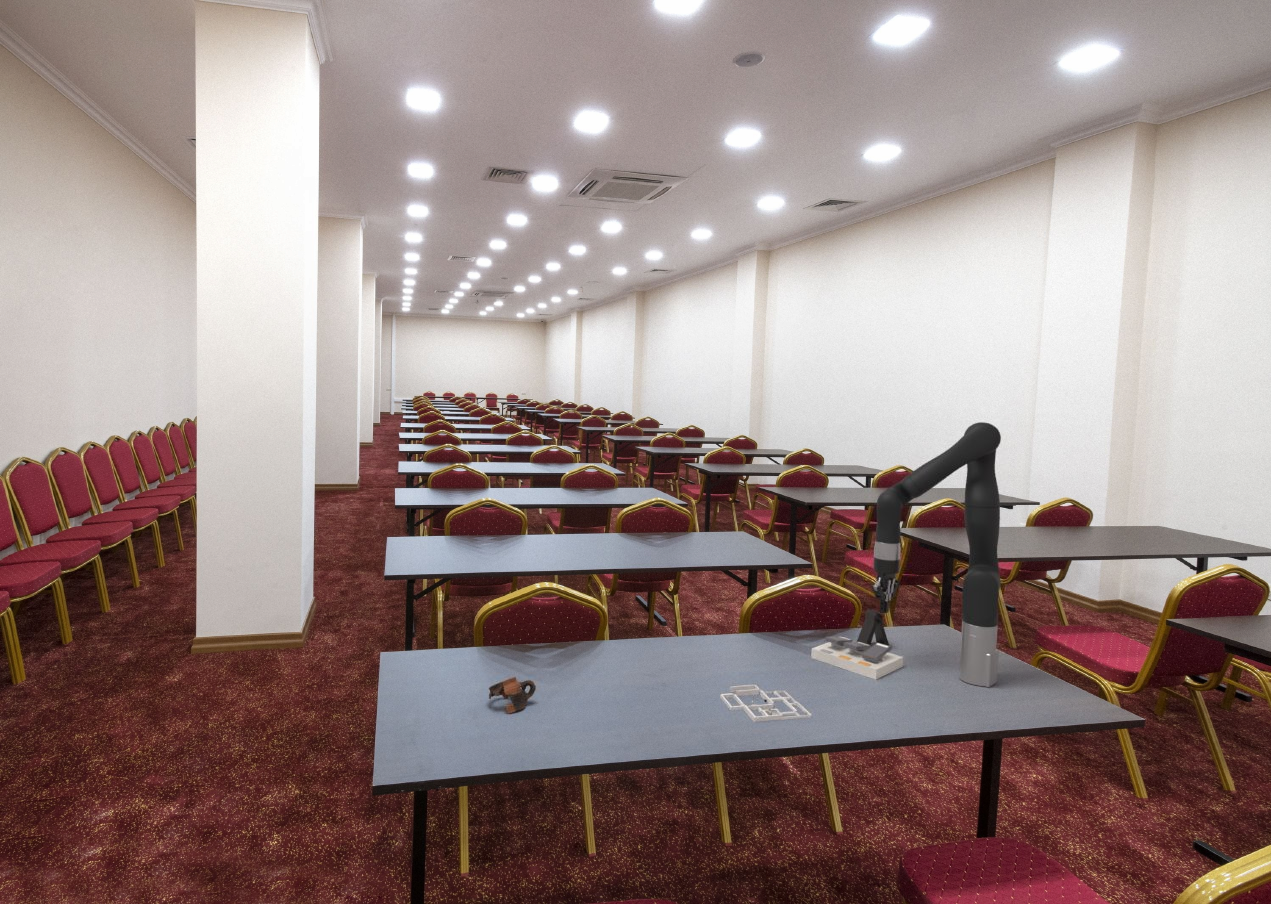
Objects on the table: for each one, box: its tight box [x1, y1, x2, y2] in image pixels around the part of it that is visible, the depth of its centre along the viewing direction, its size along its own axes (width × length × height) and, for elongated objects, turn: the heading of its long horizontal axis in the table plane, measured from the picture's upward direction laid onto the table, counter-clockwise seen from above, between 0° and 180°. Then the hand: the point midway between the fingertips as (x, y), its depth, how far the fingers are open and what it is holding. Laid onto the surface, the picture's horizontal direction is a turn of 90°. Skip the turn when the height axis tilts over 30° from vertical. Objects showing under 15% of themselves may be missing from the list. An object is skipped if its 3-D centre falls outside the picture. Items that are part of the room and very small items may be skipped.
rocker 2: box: [843, 641, 871, 650], centre depth 214 cm, size 4×9×1 cm, turn 132°
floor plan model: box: [719, 684, 813, 723], centre depth 182 cm, size 19×25×2 cm
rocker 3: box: [862, 643, 892, 662], centre depth 209 cm, size 4×9×1 cm, turn 132°
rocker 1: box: [824, 636, 854, 645], centre depth 219 cm, size 4×9×1 cm, turn 132°
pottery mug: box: [488, 676, 537, 715], centre depth 179 cm, size 12×10×8 cm
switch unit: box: [810, 642, 904, 680], centre depth 214 cm, size 22×16×4 cm
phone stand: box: [856, 608, 890, 647], centre depth 228 cm, size 9×6×12 cm, turn 97°
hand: (884, 612), depth 211 cm, fingers closed
